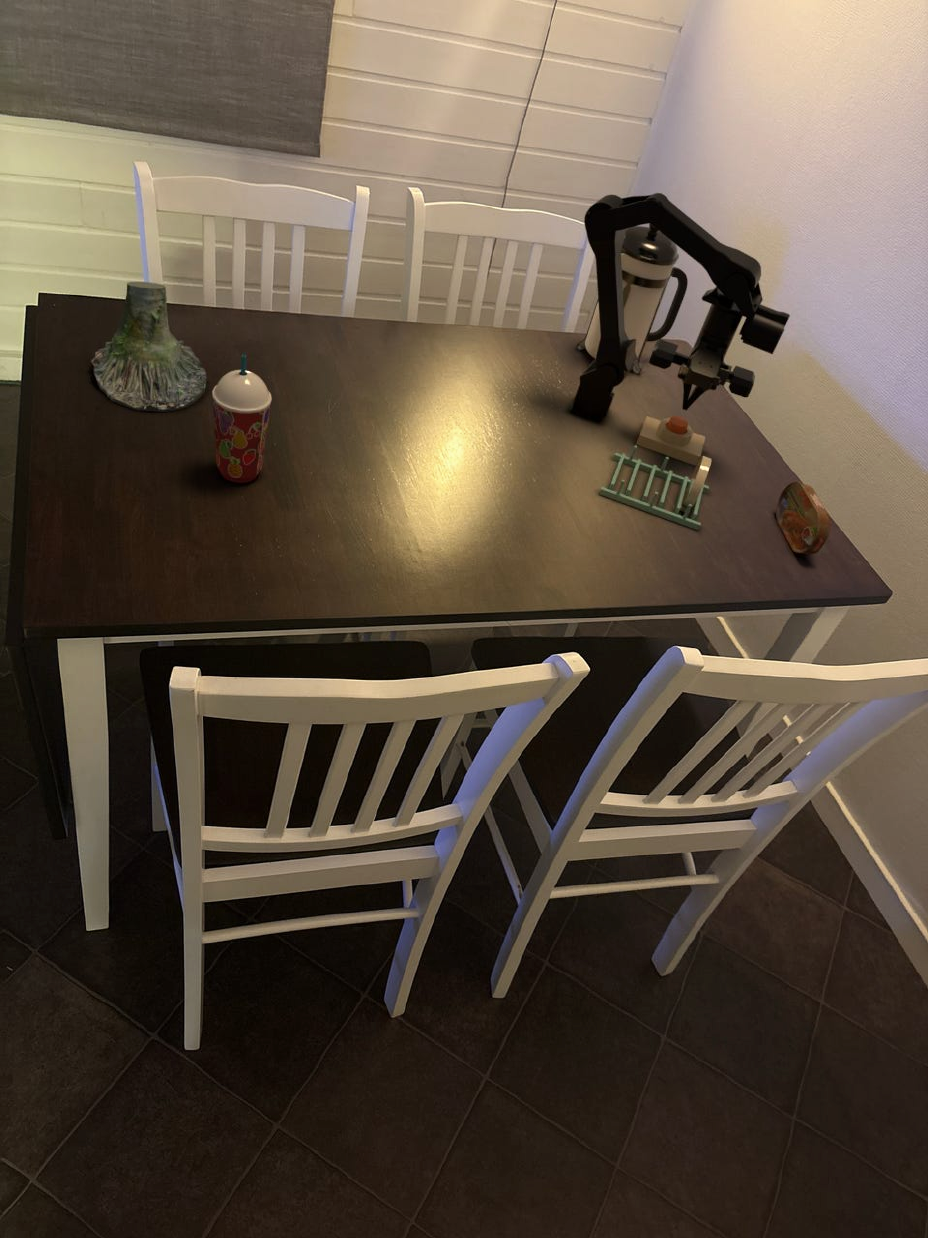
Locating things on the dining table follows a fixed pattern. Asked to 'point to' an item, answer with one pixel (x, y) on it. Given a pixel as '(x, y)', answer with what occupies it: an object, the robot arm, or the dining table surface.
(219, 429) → the smoothie
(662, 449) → the panel
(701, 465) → the plate
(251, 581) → the dining table surface
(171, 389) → the tree stump
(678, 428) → the button
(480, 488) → the dining table surface
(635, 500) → the rack
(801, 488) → the tin
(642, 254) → the coffee press
